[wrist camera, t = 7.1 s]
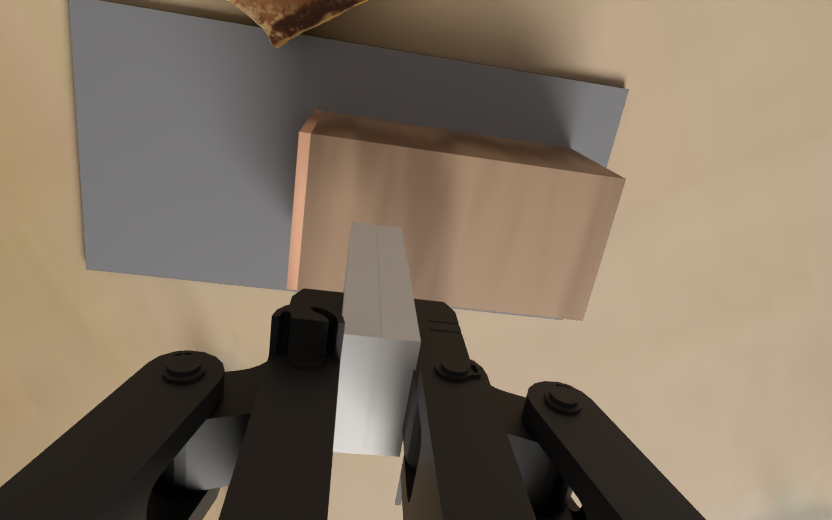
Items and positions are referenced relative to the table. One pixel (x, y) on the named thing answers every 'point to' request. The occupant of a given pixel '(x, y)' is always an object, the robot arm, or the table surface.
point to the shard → (292, 15)
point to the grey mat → (263, 131)
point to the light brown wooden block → (454, 213)
